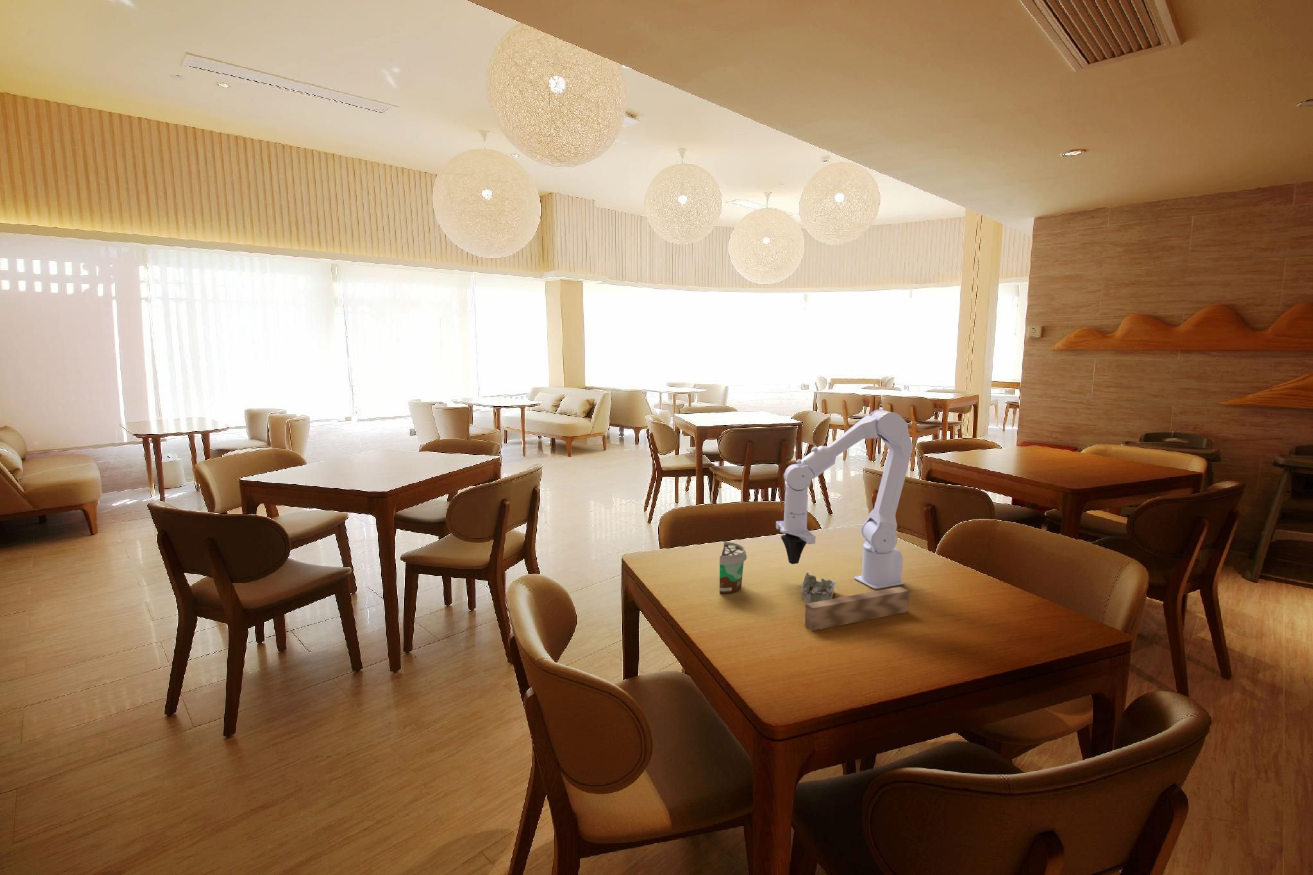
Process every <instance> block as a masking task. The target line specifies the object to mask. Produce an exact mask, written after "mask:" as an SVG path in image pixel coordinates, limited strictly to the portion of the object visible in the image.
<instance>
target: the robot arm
mask: <svg viewBox="0 0 1313 875" xmlns="http://www.w3.org/2000/svg"><path fill="white" fill-rule="evenodd" d="M878 438H880V439H881V440H882V442H883V443H884V444H885V445H886V447H887V449H888V452H887V456H886V460H885V463H884V464H885V465H884V468H883V472H882V477H881V479H880V484H879V488H878V492H877V495H876V500H875V502H874V508H873V509H872V510H871V511H870V512H869V514H868V517H867V519H866V521H865V522H863V524H862V526H861V534H862V536H863V538H864V539H865V540H864V543H863V544H862V545H863V547H862V562H861V563H862V564H861V565H862V567H861V575H855V576H854V577H853V579H855V580H857V581H859V582H860V583H863V584H864V585H867V586H868V587H870V588H873V589H875V590H877V589H883V588H889V587H894V586H900V585H904V584H905V582H904V581H903V580H902V578H903V566H904V565H903V563H904V561H903V560H904V558H903V555H902V552H901V550H900V549H899V548H898V547H896V546H897V544H898V536H897V529H898V523H897V519H896V513H897V510H898V507H899V502H900V498H901V495H902V490H903V487H904V484H905V479H906V477H907V472H908V467H909V464H910V461H911V458H912V453H913V450H914V449H913V448H914V445H913V442H912V438H911V435H910V432H909V425H908V423H907V421H906V419H904V418H903V417H902V416H901V415H900V414H899V413H896V412H893V411H892V412H891V411H887V410H886V409H882V408H881V409H875V410H873V411H871V412H870V413H869V414H867V415H866V416H864V417H862V418H861V419H860V420H859V421H858V422H856V423H855V424H854V425H852V426H851V427H850V428H848V430H846V431H845V432H844V433H842V434H841V435H840V436H838V437H837V438H836V439H835V440H833V442H831V443H830V444H829V445H819V446H818V447H817V446H813V447H812V448H811V449H810V450H811V452H810V453H808V454H807V455H805V456H804V457H802V458H801V459H800V458H798V459H797V460H795V462H796V463H794V464H793V463H792V464H790V465H788V466H787V468H786V469H785V471H784V473H783V479H784V481H785V492H784V508H783V510H784V512H783V513H784V514H783V520H777V521H775V528H776V530H779V532H780V533H781V534H783V535H780V539H781V541H782V543H783V545H784V547H785V550H786V555H787V559H788V564H790V565H795V564H798V565H799V563H800V559H801V555H802V554H803V551H804V548H805V547H806V545H807V544H808V545H812V544H813V545H815V544H816V535H814V534H813V533H812V532H810V530H809V529H808V528H807V527H808V526H807V524H808V503H809V502H808V500H809V495H808V490H809V487H810V486H811V484H812V481H813V479H815V478H817V477H818V476H820V475H821V474H823V473H824V472H825V471H827V470H828V469H829V468H832V466H834V465H835V463H836V459H837V456H839V455H841V454H842V453H844V452H846V451H847V450H849V449H850V448H851V447H853V446H854V445H856V444H858V443H859V442H860V441H863V440H864V439H878Z"/></svg>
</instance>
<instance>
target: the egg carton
mask: <svg viewBox="0 0 1313 875" xmlns="http://www.w3.org/2000/svg"><path fill="white" fill-rule="evenodd" d="M820 579H821V580H817V578H816V576H815V575H812V574H809V572H806V574H805V576H804V580H803V582H802V584H801V588H800V589H801V590H800V592H801V594H802V595H801V600H802V601H804V602H805V604H807V603H812V602H818V601H824V600H829V599H833V594H834V590H835V586H836V585H837V581H836V580H831V579H828V580H827V579H824V578H820ZM810 588H812V590H810ZM824 590H826V592H825V591H824Z"/></svg>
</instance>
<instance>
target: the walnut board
mask: <svg viewBox="0 0 1313 875" xmlns="http://www.w3.org/2000/svg"><path fill="white" fill-rule="evenodd" d="M909 596H910V590H908V589H907V588H904V587H902V586H897V587H891V588H886V589H881V590H876V591H875V590H874V591H870V592H864V593H858V594H853V595H846V596H842V597H835V598H831V599H829V600H824V601H818V602H811V603H805V615H804V626H805V627H806V628H807V629H809V630H810V629H811V630H810V631H813V632H814V631H818V630H817V629H819V630H823V628H824V629H829V628H834V627H837V626H838V627H839V626H842V625H848V624H853V623H857V622H858V623H859V622H862V621H868V620H873V619H878V618H883V617H889V616H894V615H898V614H904V613H907V612H908V611H909Z"/></svg>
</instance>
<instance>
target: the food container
mask: <svg viewBox="0 0 1313 875" xmlns="http://www.w3.org/2000/svg"><path fill="white" fill-rule="evenodd" d="M721 551H722V552H721V555H719V595H731V594H736V593H738V592H740V591H741V590H742V583H743V573H744V564H745V562H746V560H747V558H748V556H747V552H746V550H745V547H743V546H742V545H740V544H739V543H735V542H731V541H723V549H722V550H721Z"/></svg>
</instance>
